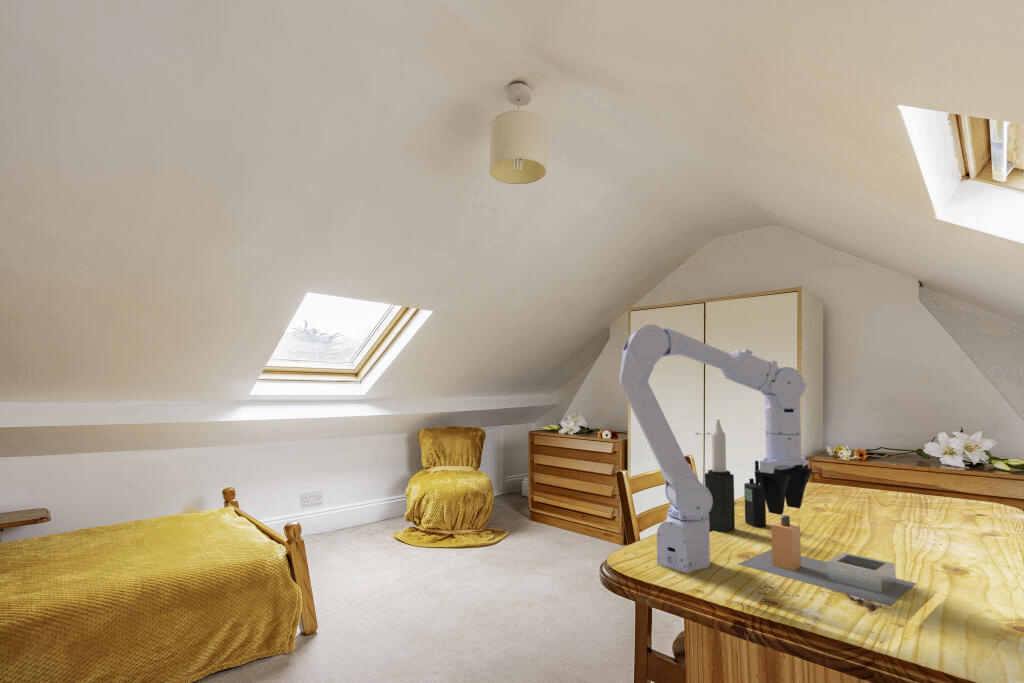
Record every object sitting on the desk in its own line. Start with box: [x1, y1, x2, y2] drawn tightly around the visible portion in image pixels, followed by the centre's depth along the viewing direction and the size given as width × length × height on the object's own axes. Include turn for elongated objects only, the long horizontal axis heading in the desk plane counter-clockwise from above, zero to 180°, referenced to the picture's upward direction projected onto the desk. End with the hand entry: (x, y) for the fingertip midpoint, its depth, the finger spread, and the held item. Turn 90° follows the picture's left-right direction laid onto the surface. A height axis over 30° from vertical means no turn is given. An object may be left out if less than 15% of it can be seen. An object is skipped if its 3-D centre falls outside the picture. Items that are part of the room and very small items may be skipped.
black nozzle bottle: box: [704, 418, 736, 534], centre depth 119 cm, size 5×5×25 cm
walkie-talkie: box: [743, 460, 767, 528], centre depth 126 cm, size 5×3×15 cm
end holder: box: [826, 551, 897, 594], centre depth 87 cm, size 8×8×3 cm
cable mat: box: [737, 548, 917, 607], centre depth 91 cm, size 14×23×1 cm, turn 40°
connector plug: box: [770, 514, 802, 570], centre depth 95 cm, size 4×4×9 cm
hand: (785, 510), depth 95 cm, fingers open, 7 cm apart
